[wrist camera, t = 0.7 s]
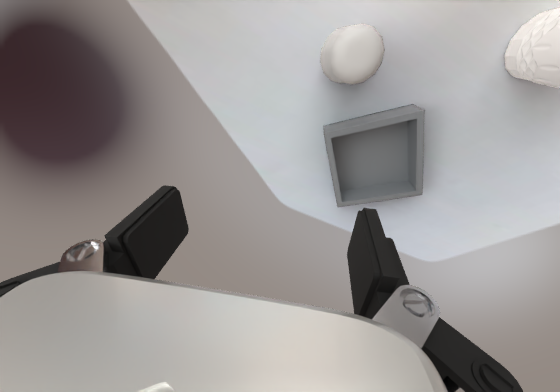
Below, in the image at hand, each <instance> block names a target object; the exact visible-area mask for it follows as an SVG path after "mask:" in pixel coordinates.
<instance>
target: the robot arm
mask: <svg viewBox="0 0 560 392" xmlns="http://www.w3.org/2000/svg"><path fill="white" fill-rule="evenodd" d="M187 234H188V224H187V220H186V216H185V212H184V208H183V204H182V199H181V195H180V192H179V190H177V188H176V187H174V186H162V187H161V188H160V189H159V190H157V191H156V192H155V193H154V194H153V195H151V196H150V197H149V198H148V199H147V200H146V201H144V202H143V203H142V204H141V205H140V206H139V207H137V208H136V209H135V210H134V211H133V212H132V213H130V214H129V215H128V216H127V217H126V218H124V219H123V220H122V221H121V222H120V223H119V224H117V225H116V226H115V227H114V228H113V229H112V230H110V231H109V232H108V233H107V234H106V235H105V238H106V240H105V241H104V242H102V241H101V240H97V239H90V240H85V241H82V242H79V243H77V244H75V245H73V246H71V247H70V248H69V249H67V250H66V251H65V252H64V253H63V255H62V257H61V260H60V262H58V263H55V264H52V265H49V266H46V267H43V268H40V269H37V270H34V271H31V272H28V273H25V274H22V275H20V276H17V277H14V278H11V279H8V280H6V281H3V282H1V283H0V392H523V390H522V388H521V387H520V385H519V383H518V382H517V380H516V379H515V378H514V377H513V376H512V374H511V373H510V372H509V371H508V370H507V369H505V368H504V367H503V366H502V365H501V364H500V363H498V362H497V361H496V360H494V359H493V358H492V357H491V356H489V355H488V354H487V353H485V352H484V351H483V350H481V349H480V348H479V347H477V346H476V345H475V344H474V343H472V342H471V341H470V340H468V339H467V338H466V337H464V336H463V335H462V334H460V333H459V332H458V331H457V330H455V329H454V328H453V327H451V326H450V325H449V324H447V323H446V322H445V321H444V320H442V319H441V318H440V317H439V315H440V310H439V306H438V305H437V303H436V301H435V300H434V299H433V298H432V297H431V295H429V294H428V293H427V292H425V291H424V290H422V289H420V288H418V287H415V286H412V285H409V282H408V279H407V277H406V274H405V271H404V269H403V266H402V263H401V260H400V258H399V255H398V252H397V250H396V247H395V244H394V242H393V240H392V239H391V238H386V237H385V234H384V231H383V228H382V225H381V222H380V219H379V216H378V213H377V211H376V209H368V208H363V210H362V211H360V210H359V211H358V214H357V218H356V221H355V225H354V229H353V232H352V236H351V240H350V243H349V247H348V252H347V258H348V265H349V274H350V282H351V290H352V298H353V306H354V314H352V313H348V312H343V311H339V310H334V309H329V308H324V307H318V306H313V305H307V304H302V303H296V302H290V301H284V300H278V299H272V298H266V297H261V296H254V295H248V294H243V293H236V292H230V291H224V290H218V289H211V288H205V287H199V286H193V285H187V284H181V283H175V282H167V281H162V280H155V278H156V276H157V275H158V274H159V272H160V271H161V269H162V268H163V266H164V265H165V264H166V263H167V261H168V260H169V258H170V257H171V256H172V254H173V253H174V252H175V250H176V249H177V248H178V246H179V245H180V243H181V242H182V241H183V239H184V238H185V236H186V235H187Z"/></svg>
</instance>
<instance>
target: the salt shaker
mask: <svg viewBox="0 0 560 392" xmlns="http://www.w3.org/2000/svg"><path fill="white" fill-rule="evenodd" d="M384 51H385V49H384V44H383V39H382V36H381V35H380V34H379V33H378V31H377V30H376V29H375V28H374V27H373V26H369V25H366V24H363V23H361V24H356V25H352V26H351V25H349V26H345V27H340V28H337V29H336V30H335V31H334V32H333V33H332V34H330V35H329V36H328V37H327V39H326V41H325V43H324V45H323V47H322V48H321V57H320V63H321V66H322V70H323V73H324V74H325V75H326V76H327V77H328V78H329V79H330V80H331V81H334V82H337V83H340V84H343V83H347V84H350V85H353V84H358V83H362V82H364V81H366V80H367V79H368V78H370V77H371V76H373V75H374V74H375V72H376V71H377V69H378V68H379V66H380V65H381V63H382V59H383V55H384Z"/></svg>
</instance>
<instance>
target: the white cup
mask: <svg viewBox="0 0 560 392" xmlns="http://www.w3.org/2000/svg"><path fill="white" fill-rule="evenodd" d="M504 59H505V69H506V70H507V71H508V72H509V73H510V74H511V75H512V76H513V77H514V78H520V79H525V80H529V81H532V82H534V83H537V84H542V85H545V86H551V87H554V88H559V89H560V7H557V8H554V9H551V10H548V11H544V12H541V13H539V14H537V15H536V16H535V17H533V18H532V19H530V20H529V21H528V22H526V23H525V24H523V25H522V26H521V28H520V29H519V30H518V31H517V32H516V34H515V35H514V36H513V37H512V39H511V40H510V42H509V45H508V47H507V50H506V53H505V55H504Z"/></svg>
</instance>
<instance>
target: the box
mask: <svg viewBox="0 0 560 392" xmlns="http://www.w3.org/2000/svg"><path fill="white" fill-rule="evenodd" d="M424 111H425V110H423V109H421V108H419V107H417V106H416V105H414V104H411V105H407V106H403V107H399V108H395V109H391V110H387V111H382V112H378V113H374V114H370V115H366V116H362V117H358V118H354V119H349V120H345V121H341V122H337V123H333V124H329V125H325V126H323V130H324V138H325V143H326V148H327V154H328V159H329V164H330V170H331V175H332V180H333V186H334V191H335V196H336V202H337V207H343V206H350V205H357V204H364V203H370V202H377V201H384V200H391V199H398V198H404V197H411V196H418V195H422V191H423V151H424Z"/></svg>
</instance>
